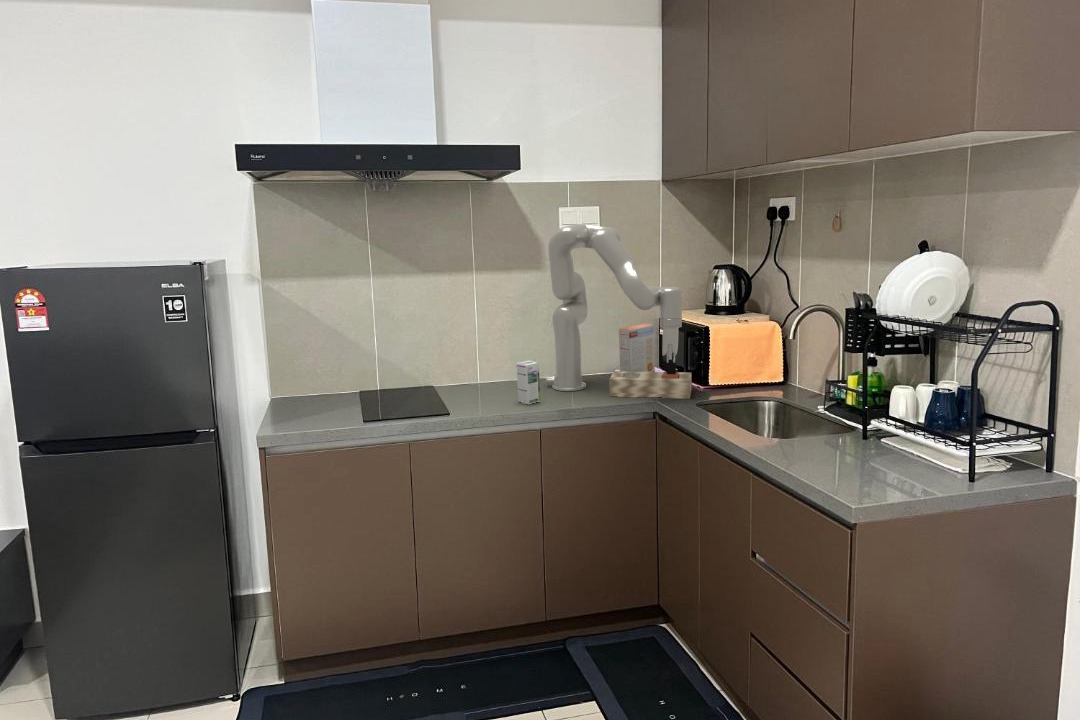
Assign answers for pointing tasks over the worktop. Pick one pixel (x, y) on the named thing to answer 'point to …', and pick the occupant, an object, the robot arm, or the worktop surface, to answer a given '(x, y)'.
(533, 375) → the syrup box
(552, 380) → the robot arm
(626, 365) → the cracker box
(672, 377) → the red cube
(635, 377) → the grey cube
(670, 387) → the beige woven basket
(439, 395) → the worktop surface
